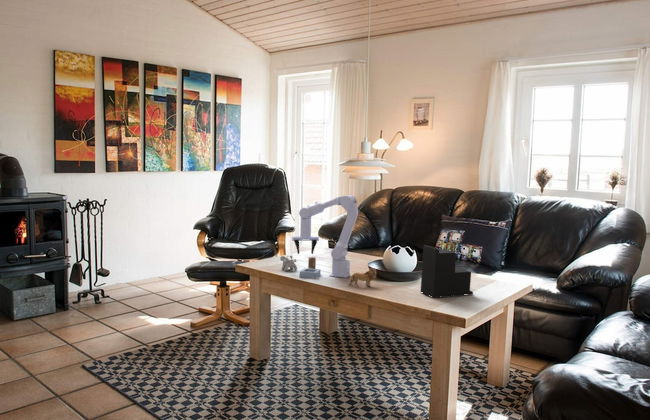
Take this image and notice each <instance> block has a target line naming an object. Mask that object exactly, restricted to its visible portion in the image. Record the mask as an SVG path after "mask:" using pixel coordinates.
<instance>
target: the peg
mask: <svg viewBox="0 0 650 420" xmlns="http://www.w3.org/2000/svg"><path fill="white" fill-rule="evenodd" d="M316 258H317V257H315V256H310V257H308V263H307V265H308V266H307V268H309V269H316V265H317V264H316V263H317V259H316Z"/></svg>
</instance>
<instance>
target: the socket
mask: <svg viewBox="0 0 650 420" xmlns="http://www.w3.org/2000/svg"><path fill="white" fill-rule="evenodd" d="M320 276H321V269H320V268H317V269H316V268H315V269H309V268H308V267H304V268H302V269H301V270H300V271H299V278H307V279H317V278H318V277H320Z"/></svg>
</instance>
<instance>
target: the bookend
mask: <svg viewBox="0 0 650 420" xmlns="http://www.w3.org/2000/svg"><path fill="white" fill-rule="evenodd" d="M456 260H457V252H455V251H452V250H449V249H443V248H442V249H438V248H437V247H432V246H430V245H426V244H424V245H423V249H422V260H421V261H422V263H421V265H422V266H421V276H420V277H421V281H420V293H421V292H423V293H425V294H427V295H426V296H428V295H430V296H432V297H437V298H441V297H440V296H450V297H454V296H453V295H463V296H465V295H464V294H473V295H474V291H472V290H471V280H472V271H470V270H466V269H464V268H461V267H456ZM423 293H422V294H423ZM425 294H424V295H425ZM430 296H429V297H430ZM432 297H431V298H432Z"/></svg>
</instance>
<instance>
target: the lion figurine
mask: <svg viewBox="0 0 650 420" xmlns="http://www.w3.org/2000/svg"><path fill="white" fill-rule="evenodd" d="M376 276H377V269H376V268H375V267H373V268H372V267H371V268H369V270H368V271H366V272H365V273H359V272H354V273H352V275H351V277H350V281H349V283H348V284H347V286H353V285H355V287H356V288H359V287H360V285H358V281H361V282H365V286H366V285H368V286H371V281H374V279H375V278H376ZM353 282H354V284H353ZM368 286H367V287H368Z"/></svg>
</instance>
